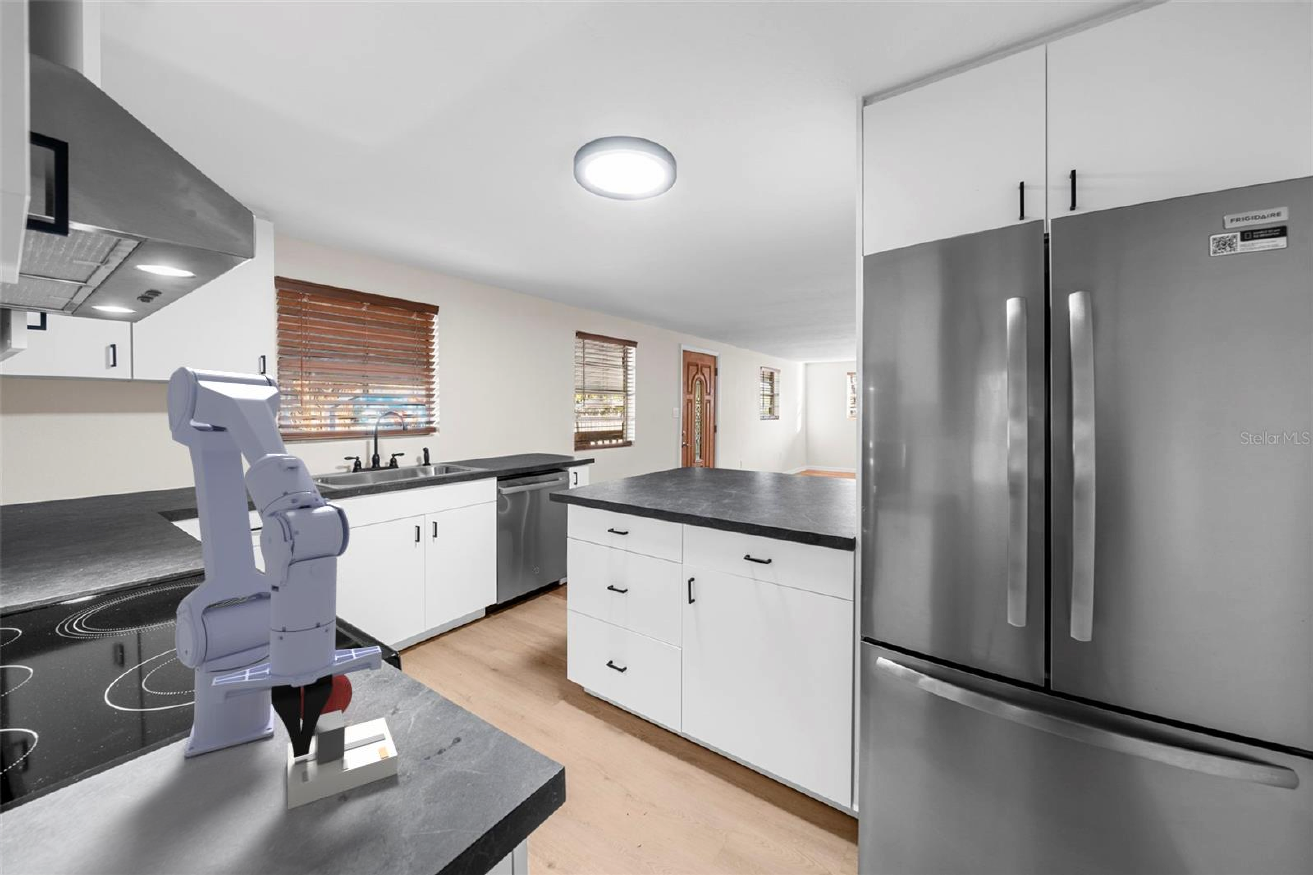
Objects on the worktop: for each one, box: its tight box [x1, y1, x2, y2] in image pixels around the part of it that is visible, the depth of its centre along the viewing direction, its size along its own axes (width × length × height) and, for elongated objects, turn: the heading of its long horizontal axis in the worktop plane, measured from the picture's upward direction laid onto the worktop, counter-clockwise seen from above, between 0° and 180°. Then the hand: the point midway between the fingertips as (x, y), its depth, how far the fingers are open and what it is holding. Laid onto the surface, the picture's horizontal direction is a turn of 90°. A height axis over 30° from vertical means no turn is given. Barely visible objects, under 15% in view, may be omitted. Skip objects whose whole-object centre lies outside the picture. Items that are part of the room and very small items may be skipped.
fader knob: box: [314, 710, 346, 764], centre depth 56 cm, size 4×2×3 cm, turn 36°
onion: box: [301, 674, 353, 721], centre depth 64 cm, size 6×6×8 cm
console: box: [286, 717, 399, 810], centre depth 57 cm, size 9×10×2 cm
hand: (301, 751), depth 54 cm, fingers closed
